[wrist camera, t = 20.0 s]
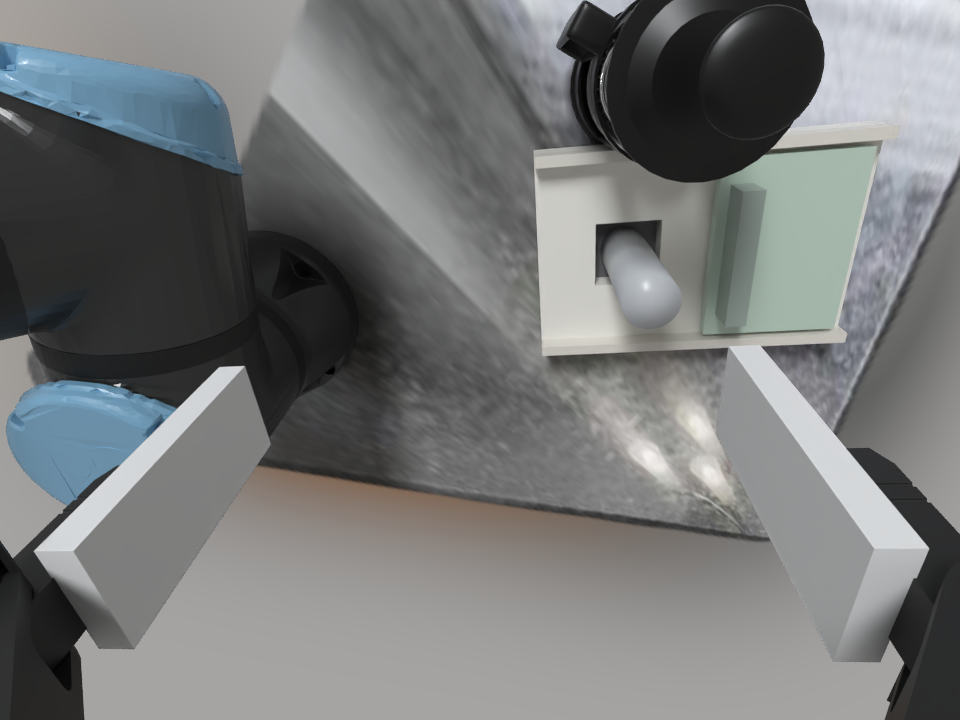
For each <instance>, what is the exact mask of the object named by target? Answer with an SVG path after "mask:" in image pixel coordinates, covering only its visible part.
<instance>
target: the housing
mask: <svg viewBox="0 0 960 720" xmlns="http://www.w3.org/2000/svg"><path fill="white" fill-rule="evenodd" d="M899 127H900V126H898V125H892V124H886V123H880V122H874V121H863V122H851V123H840V124H829V125H817V126H806V127H794V128H789V129H788V130H787V132H786V133H785V134H784V135H783V136H782V138H781V139H780V140H779V141H778V142H777V144H776V145H775V146H774V147H773V148H771V149H770V150H769V151H768V152H780V151H792V150H804V149H816V148H828V147H841V146H853V145H865V144H871V145H875V146H878V147H877V151H876V155H875V159H874V163H873V168H872V172H871V176H870V180H869V184H868V188H867V193H866V197H865V201H864V205H863V209H862V213H861V218H860V222H859V226H858V230H857V234H856V238H855V243H854V247H853V251H852V255H851V259H850V264H849V268H848V272H847V276H846V280H845V284H844V289H843V293H842V297H841V301H840V305H839V309H838V314H837V318H836V322H835V326H834V328H832V329H811V330H790V331H769V332H748V333H727V334H707V335H703V334H702V332H701V331H700V321H701V312H702V302H703V293H704V284H705V275H706V266H707V257H708V248H709V239H710V230H711V221H712V212H713V203H714V193H715V184H716V180H712V181H708V182H703V183H682V182H677V181H672V180H667V179H664V178H662V177H660V176H657V175H655V174H653V173H650V172H649V171H647V170H646V169H645V168H643V167H642V166H640V165H639V164H638V163H636V162H633V161H631V160H630V159H628V158H626V157H625V156H623V155H622V154H620V153H618V152H617V151H615V150H614V149H612V148H610V147H609V146H607V145H606V144H604V145H588V146H577V147H565V148H554V149H542V150H534V172H535V195H536V218H537V242H538V265H539V288H540V312H541V335H542V355H543V356H555V355H577V354H599V353H622V352H644V351H666V350H688V349H711V348H728V347H729V346H747V345H760V346H777V345H800V344H822V343H844V342H845V340H846V336H847V333H846V332H845V331H844V330H843V329H841V328H840V327H839V326H838V322H839V318H840V314H841V310H842V306H843V302H844V297H845V293H846V289H847V285H848V281H849V277H850V273H851V269H852V264H853V260H854V256H855V252H856V248H857V244H858V240H859V236H860V231H861V227H862V223H863V219H864V215H865V211H866V207H867V203H868V199H869V194H870V190H871V186H872V182H873V178H874V174H875V170H876V166H877V161H878V157H879V153H880V149H881V145H882V141H883V140H888V139H897V135H898V131H899ZM621 149H622V148H621ZM623 150H624V149H623ZM624 151H625V150H624ZM768 152H767V153H768ZM622 226H628V227H632V228H634V229H636V230H638V231H639V232H640V233H641V234H642V236H643V237H644V239H645V240H646V242H647V243H648V244H649V246H650V247H651V249H652V250H653V251H654V253H655V254H656V256H657V257H658V259H659V260H660V261H661V263H662V264H663V266H664V267H665V268H666V270H667V271H668V273H669V274H670V276H671V277H672V278H673V280H674V281H675V283H676V284H677V285H678V287H679V289H680V291H681V294H682V304H681V308H680V310H679V312H678V314H677V315H676V317H675V318H674V319H673V320H672V321H671V322H669V323H668V324H666V325H664V326H662V327H660V328H656V329H642V328H638V327H636V326H634V325H633V324H631V323H630V322H629V321H628V320H627V318H626V317H625V315H624V313H623V310H622V308H621V305H620V303H619V300H618V298H617V295H616V293H615V290H614V288H613V285H612V283H611V280H610V278H609V275H608V273H607V270H606V268H605V265H604V263H603V260H602V257H601V254H600V246H601V242H602V240H603V238H604V237H605V235H606V234H607V233H608V232H610V231H611V230H613V229H615V228H617V227H622Z"/></svg>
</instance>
